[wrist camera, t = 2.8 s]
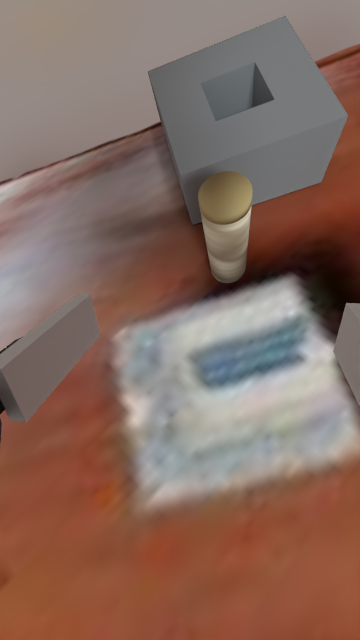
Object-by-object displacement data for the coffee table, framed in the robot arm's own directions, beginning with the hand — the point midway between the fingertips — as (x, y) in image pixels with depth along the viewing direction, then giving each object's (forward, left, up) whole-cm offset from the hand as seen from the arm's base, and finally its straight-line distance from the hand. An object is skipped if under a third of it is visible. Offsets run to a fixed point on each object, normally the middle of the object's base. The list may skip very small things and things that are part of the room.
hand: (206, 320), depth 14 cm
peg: (-4, -10, -15) cm, 19 cm away
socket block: (-9, -25, -15) cm, 31 cm away
